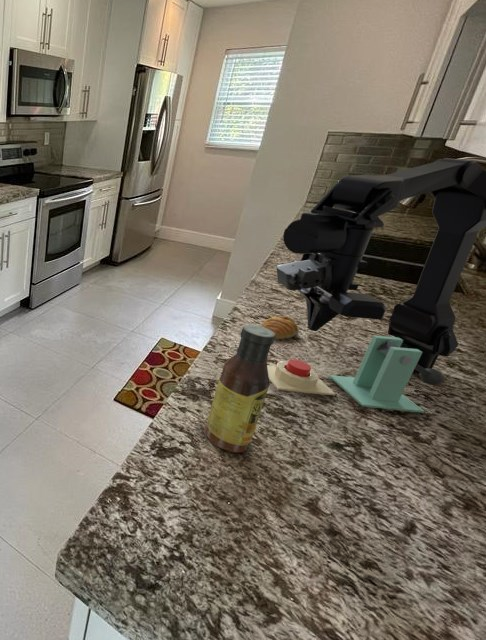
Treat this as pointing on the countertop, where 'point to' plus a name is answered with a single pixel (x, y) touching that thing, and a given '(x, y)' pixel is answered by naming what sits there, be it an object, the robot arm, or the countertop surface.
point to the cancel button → (298, 368)
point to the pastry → (281, 326)
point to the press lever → (418, 368)
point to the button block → (296, 380)
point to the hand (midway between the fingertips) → (312, 329)
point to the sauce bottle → (241, 391)
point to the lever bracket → (383, 376)
